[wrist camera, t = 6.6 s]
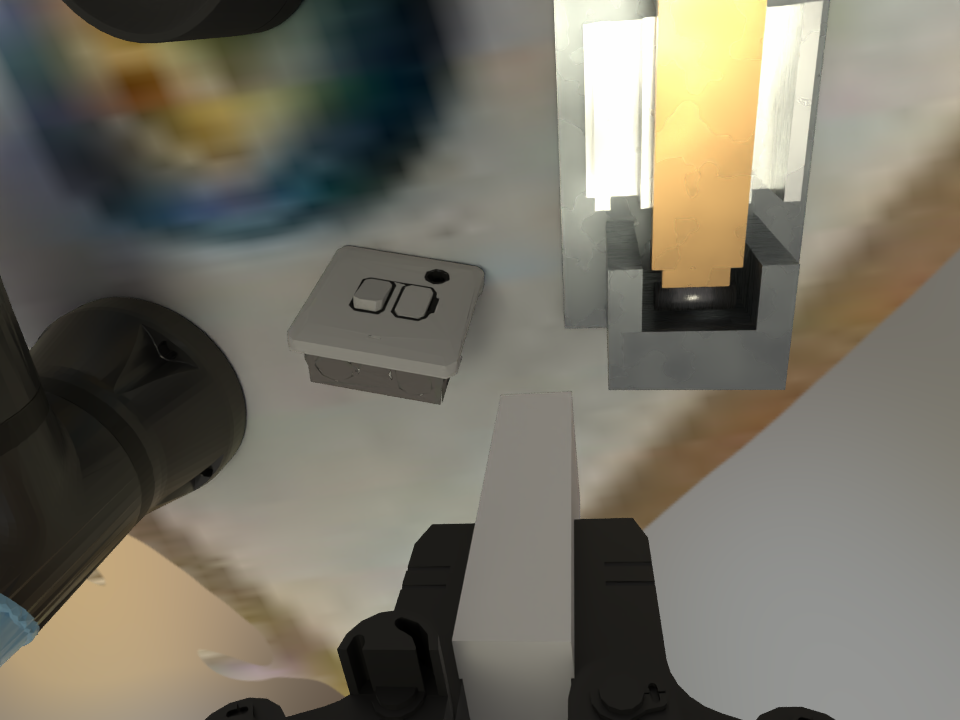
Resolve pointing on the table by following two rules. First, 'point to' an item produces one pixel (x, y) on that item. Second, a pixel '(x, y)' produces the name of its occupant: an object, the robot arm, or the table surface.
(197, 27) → the pen holder
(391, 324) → the electrical switch
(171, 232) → the table surface
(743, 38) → the strap
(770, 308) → the base
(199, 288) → the table surface
